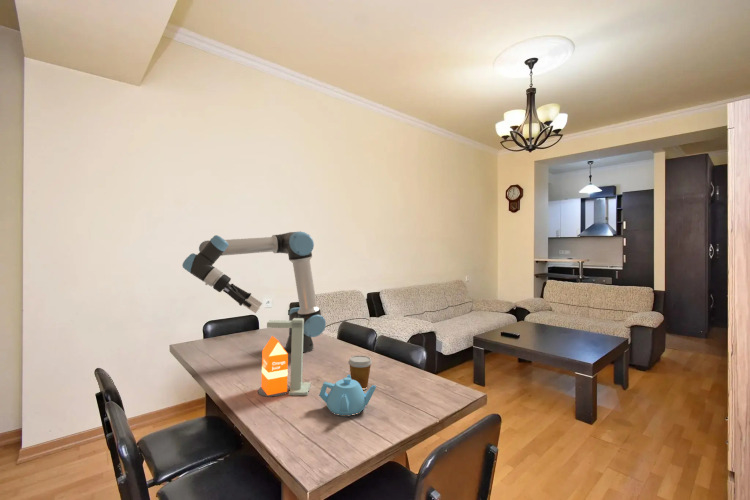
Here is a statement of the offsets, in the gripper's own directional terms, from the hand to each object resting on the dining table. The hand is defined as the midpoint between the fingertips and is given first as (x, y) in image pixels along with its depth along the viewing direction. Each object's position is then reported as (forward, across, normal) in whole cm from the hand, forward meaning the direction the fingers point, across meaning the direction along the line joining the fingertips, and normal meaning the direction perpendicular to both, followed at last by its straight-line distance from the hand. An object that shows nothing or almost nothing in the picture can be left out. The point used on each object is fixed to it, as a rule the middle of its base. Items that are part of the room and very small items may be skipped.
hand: (259, 308), depth 155 cm
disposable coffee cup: (+51, +24, 0) cm, 56 cm away
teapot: (+45, +41, -5) cm, 61 cm away
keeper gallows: (+28, +21, -16) cm, 39 cm away
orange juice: (+23, +21, -19) cm, 37 cm away
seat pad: (+24, +21, -19) cm, 37 cm away
